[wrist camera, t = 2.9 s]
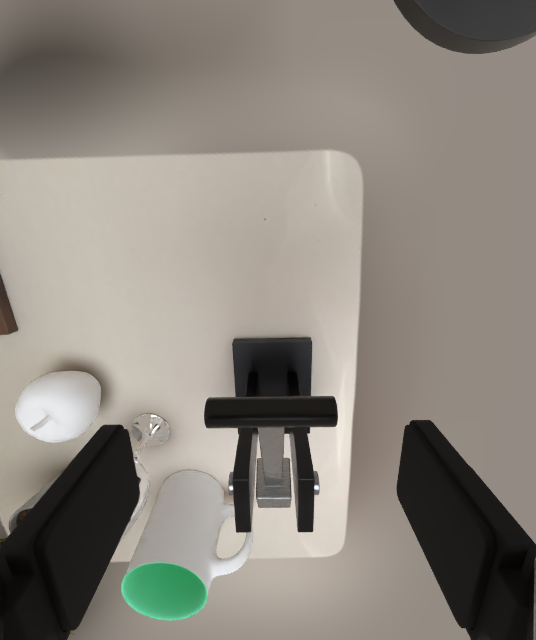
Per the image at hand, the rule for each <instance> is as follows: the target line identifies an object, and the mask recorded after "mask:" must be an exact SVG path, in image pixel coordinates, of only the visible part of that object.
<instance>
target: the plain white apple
mask: <svg viewBox="0 0 536 640" xmlns="http://www.w3.org/2000/svg"><path fill="white" fill-rule="evenodd" d="M100 400H101V386H100V384H99V382H98V381H97V380H96V379H95V378H94V377H93V376H92V375H91V374H89V373H86V372H81V371H62V372H52V373H48V374H45V375H42V376H40V377H38V378H36V379H34V380H33V381H31V382H30V383H29V384H28V385H27V386H26V387H25V388H24V389H23V391H22V393H21V394H20V396H19V399H18V401H17V404H16V409H15V416H16V418H17V421H18V422H19V423H20V425H21V427H22V428H23V430H24V431H25V432H26V433H27V434H29V435H30V436H32V437H35V438H37V439H39V440H42V441H44V442H48V443H58V442H64V441H68V440H72V439H74V438H76V437H78V436H80V435H82V434H83V433H84V432H85V431H86V430H87V429H88V428H89V427H90V426H91V425H92V424H93V422H94V421H95V419H96V417H97V415H98V411H99V406H100Z"/></svg>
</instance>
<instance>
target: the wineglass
mask: <svg viewBox="0 0 536 640" xmlns="http://www.w3.org/2000/svg"><path fill="white" fill-rule="evenodd" d="M132 433H133V435H134V437H135V438H136V439H137V440H138V441H139V442H140V443H141V444H140V446H139V447H138V449H137V450H136V451H135V452H134V453H133V457H134V462H135V467H136V473H137V478H138V483H139V488H140V497H139V501H138V504H137V506H136V508H135V510H134V512H133V514H132V516H131V519H130V521H129V523H128V525H127V527H126V529H125V531H124V533H123V535H122V537H121V539H120V541H121V540H122V539H123V538H124V536H125V535H126V534H127V532H128V531H129V530H130V528H131V527H132V526H133V524H134V523H135V521H136V520H137V518H138V516H139V514H140V513H141V511H142V509H143V507H144V505H145V503H146V500H147V497H148V493H149V488H150V481H149V476H148V473H147V471H146V469H145V468H144V466H143V465H142V464H141V463H139V459H140V454H141V451H142V449H143V447H144V445H148V446H159V445H161V444H163V443H165V442H166V441H167V440H168V438H169V436H170V428H169V425H168V424H167V422H166V421H165V420H164V419H163V418H161V417H160V416H157V415H154V414H143V415H140V416H138V417H137V418H136V419H135V420H134V421H133V423H132ZM119 543H120V542H119Z"/></svg>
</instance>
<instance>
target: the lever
mask: <svg viewBox="0 0 536 640" xmlns="http://www.w3.org/2000/svg"><path fill="white" fill-rule="evenodd" d="M204 420H205V426H206V427H207V428H258V434H259V442H260V449H261V457H262V458H258V459H257V483H256V499H257V503H258V507H259V508H289V507H290V504H291V477H290V459H289V458H283V454H284V428H285V427H335V426H336V425H337V420H338V412H337V404H336V400H335V398H334V397H333V396H291V397H213V398H208V399H207V401H206V404H205V411H204Z"/></svg>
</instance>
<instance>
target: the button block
mask: <svg viewBox="0 0 536 640" xmlns="http://www.w3.org/2000/svg"><path fill="white" fill-rule="evenodd" d="M15 331H17V327H16V323H15V320H14V317H13V314H12V311H11V308H10V305H9V301H8V298H7V295H6V292H5V289H4V286H3V282H2V279H1V276H0V335H7V334H11V333H13V332H15Z"/></svg>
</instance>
